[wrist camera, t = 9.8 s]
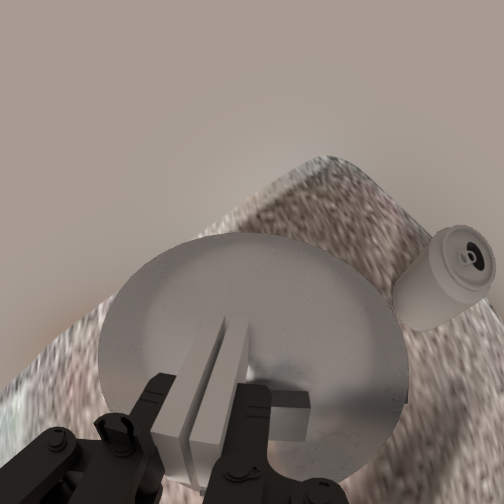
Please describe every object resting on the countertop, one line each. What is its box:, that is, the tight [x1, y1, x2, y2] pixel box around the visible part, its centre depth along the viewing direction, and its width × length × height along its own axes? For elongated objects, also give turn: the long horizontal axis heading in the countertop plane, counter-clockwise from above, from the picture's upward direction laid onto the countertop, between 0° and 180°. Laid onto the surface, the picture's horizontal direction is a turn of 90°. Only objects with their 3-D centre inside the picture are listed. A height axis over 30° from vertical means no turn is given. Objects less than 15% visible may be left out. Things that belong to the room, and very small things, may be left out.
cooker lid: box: [98, 233, 409, 497], centre depth 13 cm, size 17×17×3 cm
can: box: [392, 225, 496, 332], centre depth 25 cm, size 8×8×12 cm
